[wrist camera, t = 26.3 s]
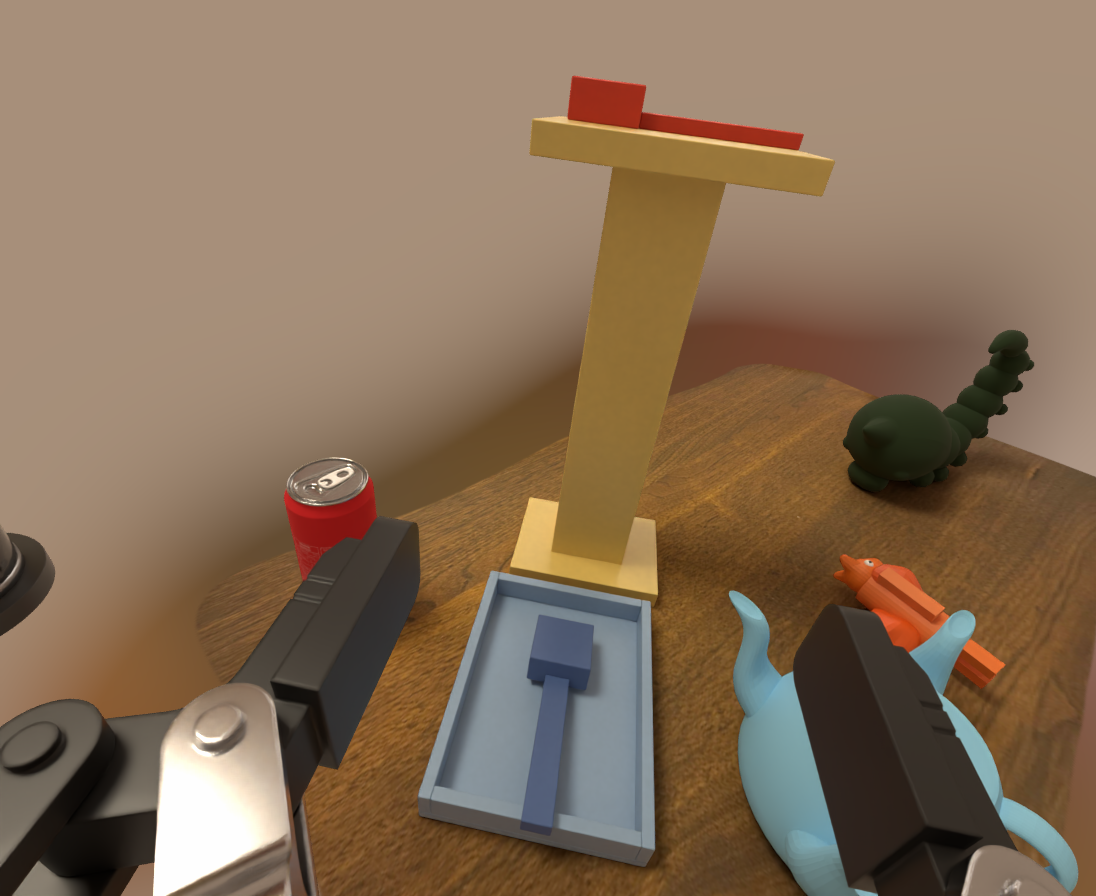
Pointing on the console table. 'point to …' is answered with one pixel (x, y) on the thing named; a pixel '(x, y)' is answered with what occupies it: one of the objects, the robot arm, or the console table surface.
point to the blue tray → (589, 732)
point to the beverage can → (327, 506)
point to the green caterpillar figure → (932, 423)
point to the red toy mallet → (659, 115)
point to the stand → (636, 336)
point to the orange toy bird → (910, 612)
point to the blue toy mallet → (553, 710)
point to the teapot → (792, 778)
